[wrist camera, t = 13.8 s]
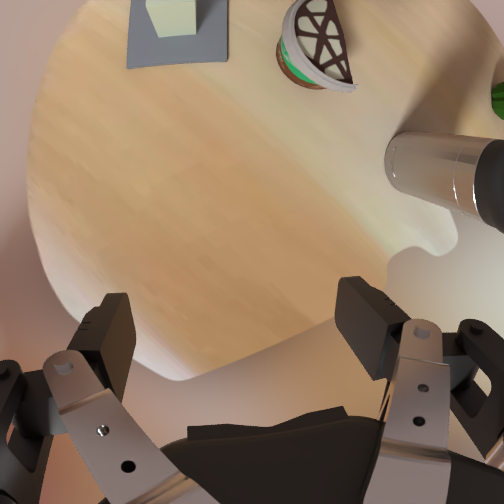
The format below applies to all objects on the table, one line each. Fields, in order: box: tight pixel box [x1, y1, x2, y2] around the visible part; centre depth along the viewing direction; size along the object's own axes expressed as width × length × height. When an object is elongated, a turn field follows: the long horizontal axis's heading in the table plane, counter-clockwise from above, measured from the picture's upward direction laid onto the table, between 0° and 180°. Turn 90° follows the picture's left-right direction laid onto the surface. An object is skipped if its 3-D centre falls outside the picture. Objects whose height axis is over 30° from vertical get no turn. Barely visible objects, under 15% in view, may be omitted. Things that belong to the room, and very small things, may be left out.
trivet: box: [127, 0, 227, 69], centre depth 29 cm, size 12×12×1 cm
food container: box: [276, 0, 358, 93], centre depth 28 cm, size 12×6×10 cm, turn 10°
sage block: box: [146, 0, 197, 38], centre depth 24 cm, size 4×4×10 cm
